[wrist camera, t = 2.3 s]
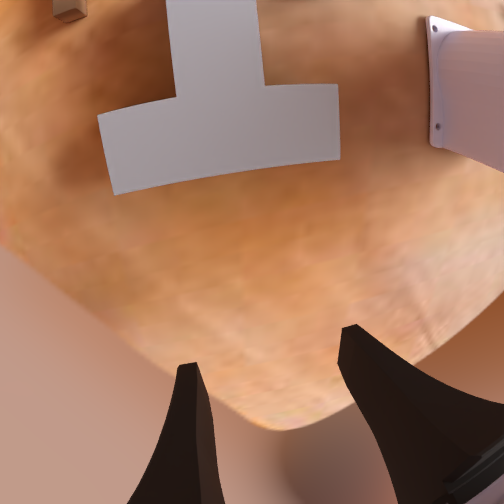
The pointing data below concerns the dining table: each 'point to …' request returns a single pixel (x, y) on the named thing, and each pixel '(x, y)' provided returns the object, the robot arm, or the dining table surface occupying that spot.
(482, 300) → the dining table surface
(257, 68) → the tee block
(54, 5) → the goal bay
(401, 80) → the dining table surface
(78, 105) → the dining table surface
